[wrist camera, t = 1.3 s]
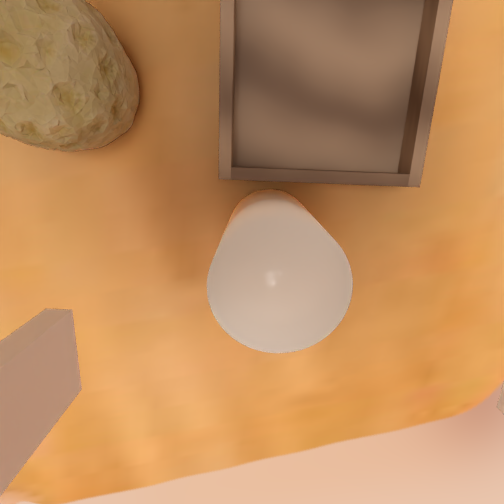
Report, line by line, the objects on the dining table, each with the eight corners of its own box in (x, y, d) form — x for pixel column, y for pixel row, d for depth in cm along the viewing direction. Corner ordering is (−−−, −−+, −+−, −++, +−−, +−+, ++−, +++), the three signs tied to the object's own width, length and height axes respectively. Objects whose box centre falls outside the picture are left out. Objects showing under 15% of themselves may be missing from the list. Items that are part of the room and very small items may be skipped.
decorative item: (162, 104, 27) (154, -30, 18) (104, 202, 23) (57, 98, 14) (49, 56, 26) (-20, -111, 17) (-28, 150, 23) (-170, 3, 13)
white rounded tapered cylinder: (229, 187, 25) (206, 214, 14) (313, 190, 25) (361, 220, 14) (228, 266, 27) (206, 350, 15) (306, 270, 27) (343, 356, 15)
